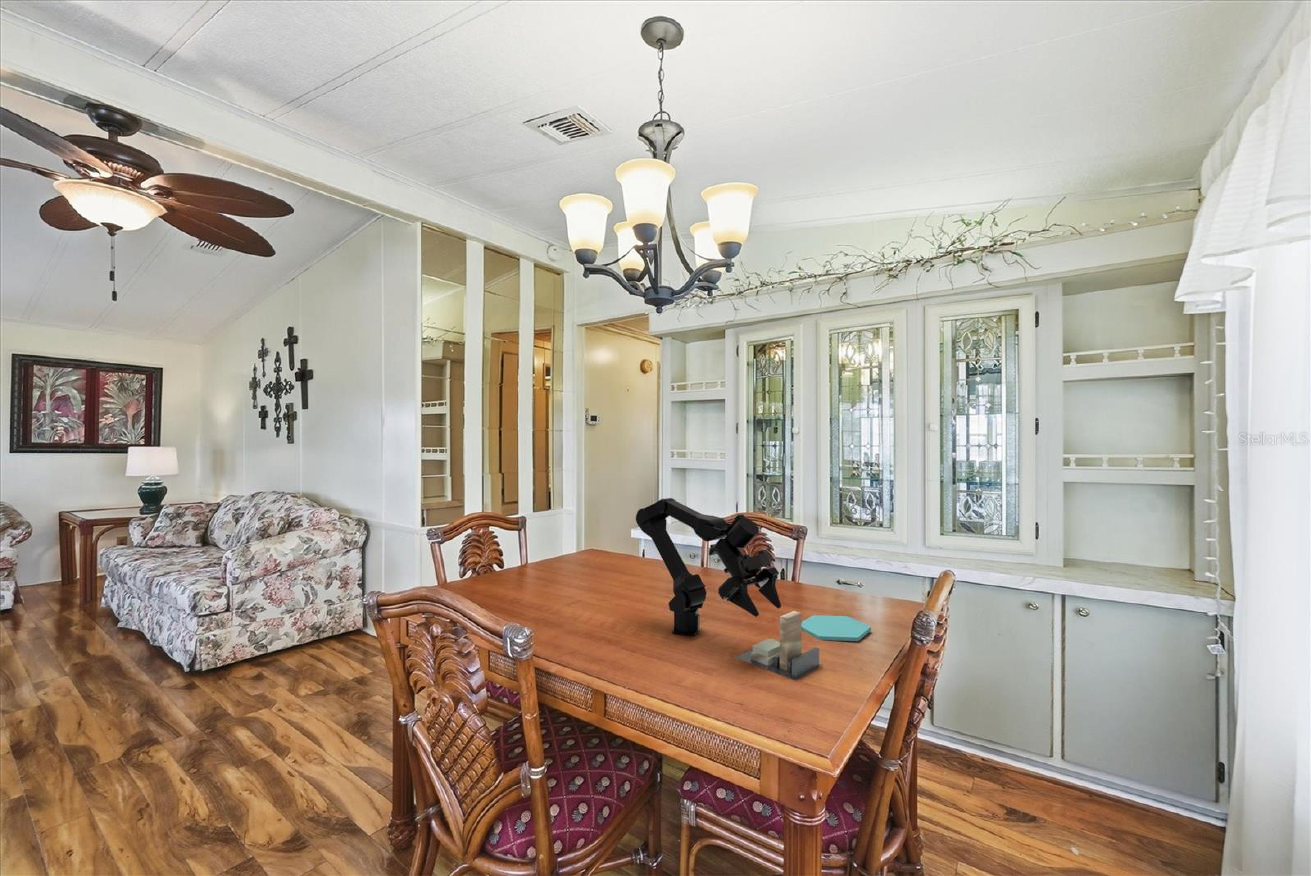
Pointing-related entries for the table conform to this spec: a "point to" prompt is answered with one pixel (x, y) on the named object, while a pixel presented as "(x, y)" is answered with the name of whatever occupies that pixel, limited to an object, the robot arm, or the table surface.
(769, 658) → the offcut lower
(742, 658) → the offcut rack
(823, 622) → the plaque
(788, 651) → the birch block
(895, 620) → the table surface
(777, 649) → the offcut upper
